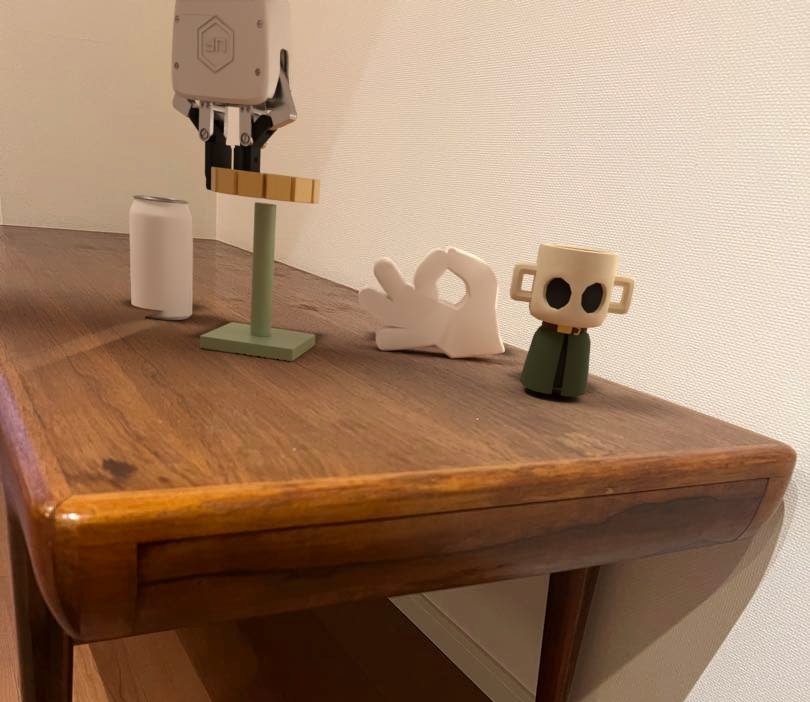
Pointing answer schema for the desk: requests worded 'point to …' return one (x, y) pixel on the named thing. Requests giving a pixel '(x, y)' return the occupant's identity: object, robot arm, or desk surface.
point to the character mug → (567, 312)
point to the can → (161, 256)
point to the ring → (265, 185)
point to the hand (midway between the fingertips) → (232, 190)
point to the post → (260, 305)
